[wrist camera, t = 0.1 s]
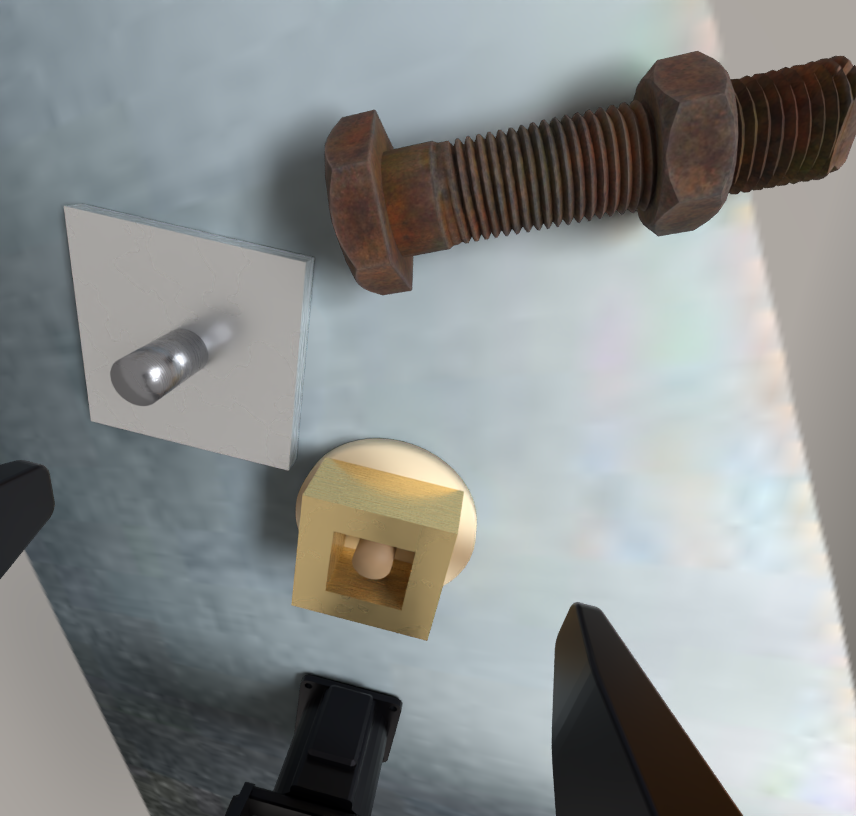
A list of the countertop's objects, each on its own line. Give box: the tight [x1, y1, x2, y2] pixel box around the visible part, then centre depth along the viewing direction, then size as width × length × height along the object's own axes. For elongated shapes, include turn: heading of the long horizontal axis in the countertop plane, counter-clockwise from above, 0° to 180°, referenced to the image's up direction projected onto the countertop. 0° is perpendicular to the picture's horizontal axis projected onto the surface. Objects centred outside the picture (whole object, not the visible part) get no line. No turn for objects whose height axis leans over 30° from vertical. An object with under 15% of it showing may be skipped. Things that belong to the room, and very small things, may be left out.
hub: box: [64, 204, 314, 471], centre depth 22 cm, size 10×10×4 cm
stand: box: [296, 438, 477, 586], centre depth 25 cm, size 9×9×4 cm
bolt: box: [325, 51, 856, 295], centre depth 17 cm, size 6×5×15 cm
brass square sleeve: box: [292, 457, 464, 641], centre depth 24 cm, size 7×7×3 cm
